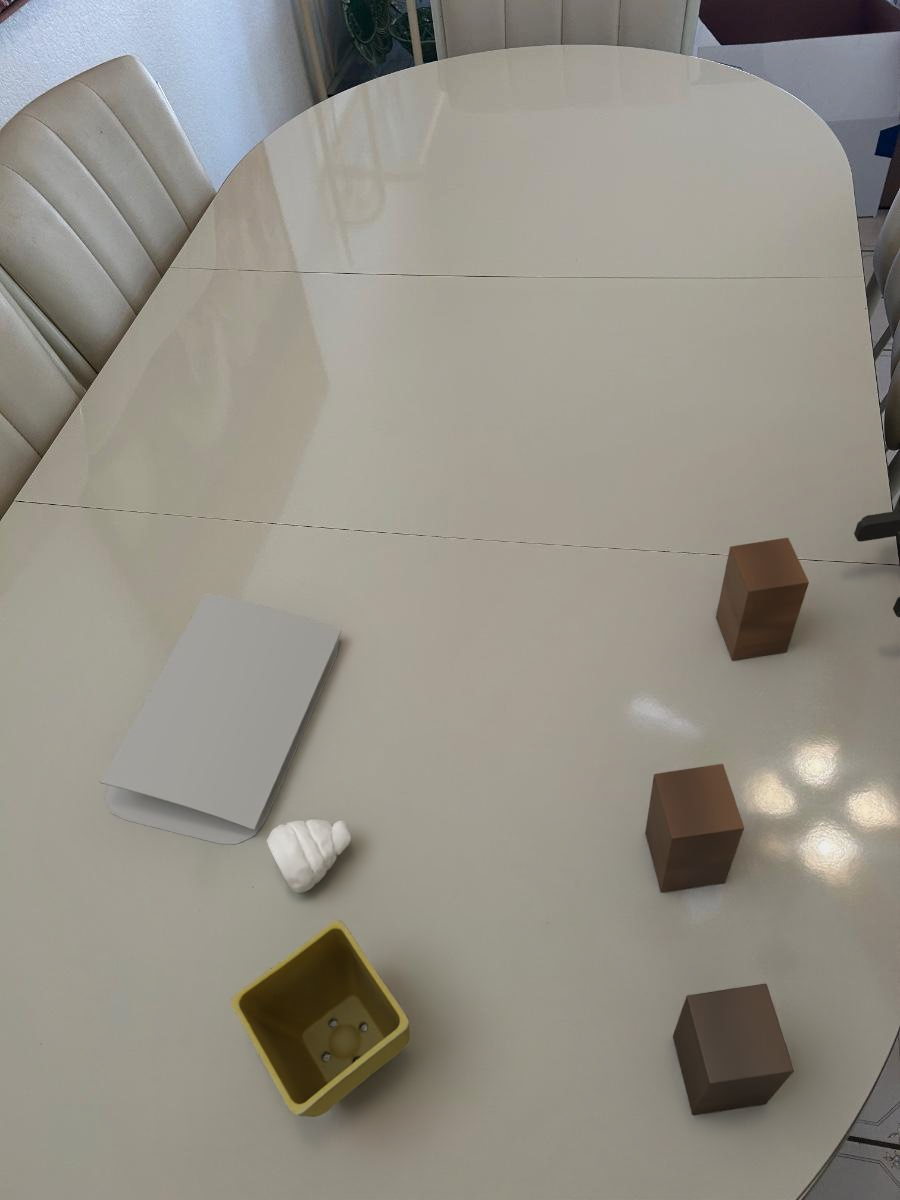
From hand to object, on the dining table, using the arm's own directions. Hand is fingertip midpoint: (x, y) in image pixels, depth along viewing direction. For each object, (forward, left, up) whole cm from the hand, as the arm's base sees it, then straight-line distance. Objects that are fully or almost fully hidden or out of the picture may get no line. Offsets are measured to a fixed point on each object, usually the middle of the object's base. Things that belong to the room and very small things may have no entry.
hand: (876, 568), depth 80 cm
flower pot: (+45, +35, -7) cm, 57 cm away
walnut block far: (+10, +1, -7) cm, 12 cm away
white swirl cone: (+48, +21, -7) cm, 53 cm away
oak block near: (+19, +37, -7) cm, 42 cm away
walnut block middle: (+19, +22, -7) cm, 30 cm away
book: (+58, +7, -7) cm, 59 cm away
